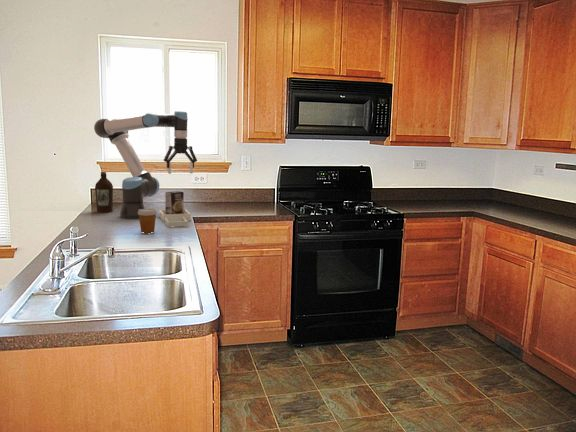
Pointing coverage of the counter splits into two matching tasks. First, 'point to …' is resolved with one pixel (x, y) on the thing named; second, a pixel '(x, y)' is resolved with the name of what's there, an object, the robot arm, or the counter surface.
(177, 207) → the coffee box
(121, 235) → the counter surface
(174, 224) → the tray
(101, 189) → the olive oil
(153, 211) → the glass of beer
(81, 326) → the counter surface
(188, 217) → the plastic food container
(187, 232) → the counter surface
